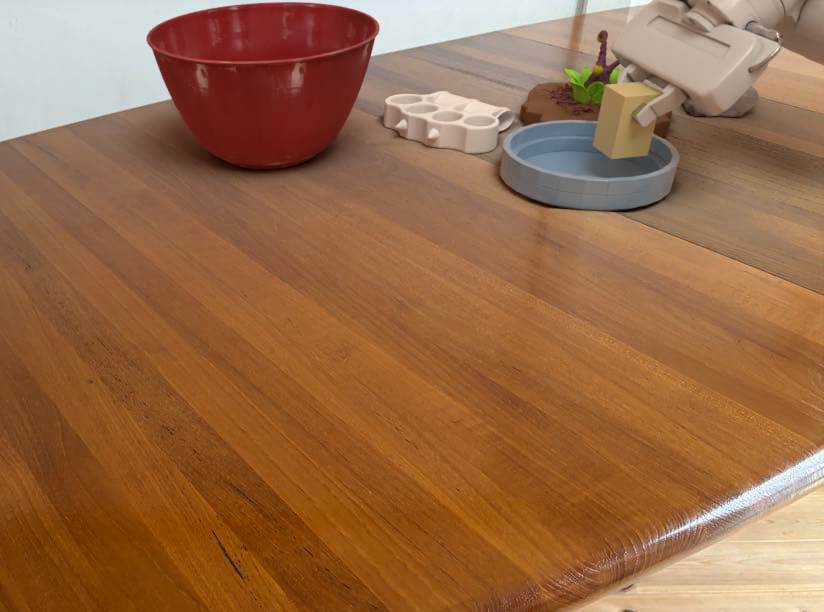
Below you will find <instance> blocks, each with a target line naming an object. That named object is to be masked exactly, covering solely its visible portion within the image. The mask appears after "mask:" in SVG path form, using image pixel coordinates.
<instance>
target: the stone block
mask: <svg viewBox="0 0 824 612" xmlns="http://www.w3.org/2000/svg"><path fill="white" fill-rule="evenodd" d="M758 92H759V91H758V90H756V89H755V88H754V87H753V85H752V86H751V87H750V88H749V89H748V90H747V91H746V92H745V93H744V94H743V95H742V97H741V98H740V99H739V100H738V101H736V102H735V103H734V104H733V105H732V106H731V107H730V108H729V109H728V110H727V111H725V112H722V113H720V114H717V115H714V116H712V115H710V114H708V113H706V112H705V111H703V110H701V109H699V108H697V107H695V106H694V105H692V104H690V103H688V102H686V101H684V102H683V103H682V105H683V107H684V109H685V111H686V112H688V113H689V114H691V116H693V117H700V116H701V117H703V116H704V117H707V118H708V117H709V118H710V117H725V118H726V117H727V118H729V117H730V118H738V117H741V116H743V115H745V113H747V112H749V110H751V109H752V108H753V107H754V106H755V105H756V103H757V101H758V100H759V97H760V94H759V93H758Z"/></svg>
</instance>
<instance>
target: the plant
mask: <svg viewBox="0 0 824 612" xmlns="http://www.w3.org/2000/svg"><path fill="white" fill-rule="evenodd" d="M608 38H609V33H608V31H607V30H606V29H605V30H604V29H603V30H600V32H598V33H597V35H596V41H597V42H598V43H599V44H600V46H599V52H598V56H597V61H596V62H595V65H594V66H593V67H592V69H591V68H589V67H588V66H586V65H584V66H583V67H582V68H581V74H580V73H579V72H577V71H576V70H573V69H571V68H568V67H566V68H565V69H564V73H566V74H567V75H568V77H569V79H570V80H569V81H568V82H558V81H556V82H545V83H544V82H543V83H537V84H536V85H534V86H533V87H532V89H530V90H529V92H528V96H527V102H525V103H523V104H521V106H520V114H519V120H521V121H523V127H525V126H528V125H531V124H535V123H542V122H549V121H561V120H585V121H598V117H599V112H600V108H601V103H602V98H603V93H604V88H605V85H608V84H617V83H618V80H619V76H620V73H621V70H620V68H618V66H620V65H621V64H620V62H619V61H618V60H617V59H616V60H615V61H613V62H612V63H611V64H609V65H607V54H608V52H607V50H608V47H607V45H608V41H607V40H608ZM672 115H673V110H672V111H670V112H668V113H666V114H663V115H661V116H659V117H657V120H656V124H655V128H654V132H653V134H655V135H657V136H659V137H661V138H665V137H667V136H668V134H669V130H670V127H671V126H670V125H671V121H672V120H671V119H672Z"/></svg>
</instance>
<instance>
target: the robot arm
mask: <svg viewBox="0 0 824 612" xmlns="http://www.w3.org/2000/svg"><path fill="white" fill-rule="evenodd" d="M782 48H783V49H785V50H787V51H789V52H792V53H794V54H796V55H799V56H801V57H804V58H805V59H806V60H809V61H811V62H813V63H816V64H819V65H821V66H824V0H652V1H650V2H649V3H647V4H646V5H645V6H644V7H643V8H642V9H641V10H640V11H639V12H638V13H637V14H636V15H635V16H633V18H632V19H631V20H630V21H628V22H627V24H626V25H625V26H624V27H623V28H622V29H621V30H620V31H619V32H618V33H617V35H616V36H615V37H614V39H613V41H612V43H611V46H610V51H611V53H612V54H613V56H614V57H615V59H616V60H618V61H619V62H620V65H621V66H622V67H623V68H624V69H623V70H622V72H621V74H620V75H619V76H620V77H618V79H617V82H618V83H617V84H620V83H631V82H643V83H644V81H646V80H647V81H648V82H650V83H652V84H653V85H656V86H657V87H658V88H661V89H662V90H661V93H663V94H662V95H661V96H659V97H657V98H655V99H654V100H652V101H650V102H649V103H647V104H646V103H644V102H642V103H641V104H640V105H639V106H638V107H637V109H635V110H634V111H633V112H632V115H631V116H632V118H633V119H634V120H635V122H636V123H638V124H639V125H640V126H642V127H646V126H648V125H649V124H650V123H651V122H652V121H653V120H654V119H655V118H656V117H659V116H661V115H663V114H666V113H668V112H670V111H672V112H673V111H675V110H677V109H678V108H679V107H681V106H682V105H683V102H684V101H686V102H688V103H690V104H692V105H694V106H695V107H697V108H699V109H701V110H703V111H705V112H706V113H708V114H710V115H712V116H711V117H715V116H714V115H717V114H720V113H722V112H725V111H727V110H728V109H729V108H730V107H731V106H732V105H733V104H734V103H735V102H736V101H738V100H739V99H740V98H741V97H742V95H743V94H744V93H745V92H746V91H747V90H748V89H749V88H750V87H751V86H752V87H753V85H754V84H755V83H756V82H757V81H758V80H759V78H760V77H761V76H762V75H763V73H764V72H765V71H766V70H767V68H768V66H769V64H770V62H771V61H772V60H773V59H774V58H776V57H777V56H778V55H779V54H780V52H781V51H782Z"/></svg>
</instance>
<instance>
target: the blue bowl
mask: <svg viewBox="0 0 824 612" xmlns="http://www.w3.org/2000/svg"><path fill="white" fill-rule="evenodd" d="M597 122H598V121H585V120H561V121H549V122H542V123H535V124H531V125H528V126H521V127H519V128H517V129H515V130H513V131H511V132H509V133H508V134H507V136H506V137H505V138H504V140H503V143H502V150H501V157H500V162H499V163H500V165H499V176H500V177H501V179H502V181H503V182H504V183H505V185H507V186H508V187H510V188H511V189H512V190H513V191H515V192H517V193H519V194H521V195H522V196H524V197H526V198H528V199H530V200H533V201H536V202H538V203H541V204H544V205H547V206H552V207H556V208H561V209H567V210H572V211H585V212H587V211H589V212H619V211H626V210H633V209H636V208H640V207H645V206H649V205H651V204H653V203H656V202H658V201H660V200H661V201H662V200H663V198H665V197H666V196H667V195H668V194H670V192H671V190H672V187H673V183H674V180H675V177H676V173H677V170H678V166H679V162H680V158H681V155H680V154H679V151H678V149H677V147H675V145H673V144H672V143H671V142H670V141H668V140H667V139H665V138H664V137H659V136H657V135H655V134H653V136H652V140H651V144H650V148H649V152H648V155H647V156H639V157H629V158H619V159H610V158H609V157H607V156H606V155H605V154H603V153H602V152H601V151H599V150H598V149H597V148H595V147H594V146H593V141H594V136H595V132H596V127H597Z"/></svg>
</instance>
